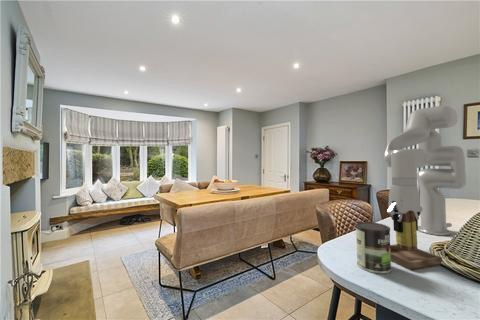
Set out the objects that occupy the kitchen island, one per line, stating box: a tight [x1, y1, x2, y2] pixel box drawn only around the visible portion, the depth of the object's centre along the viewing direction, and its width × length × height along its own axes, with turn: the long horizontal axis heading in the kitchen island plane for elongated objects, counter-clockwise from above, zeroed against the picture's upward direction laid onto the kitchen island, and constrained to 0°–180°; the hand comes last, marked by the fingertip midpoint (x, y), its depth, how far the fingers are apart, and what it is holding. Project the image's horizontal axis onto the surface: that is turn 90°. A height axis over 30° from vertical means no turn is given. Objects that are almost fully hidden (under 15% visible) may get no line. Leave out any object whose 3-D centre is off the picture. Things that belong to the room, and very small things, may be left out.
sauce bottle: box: [395, 210, 418, 251], centre depth 81 cm, size 6×6×20 cm
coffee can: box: [355, 221, 392, 275], centre depth 76 cm, size 10×10×14 cm
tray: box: [390, 243, 443, 271], centre depth 81 cm, size 14×14×2 cm
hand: (405, 230), depth 81 cm, fingers closed on sauce bottle, 6 cm apart
